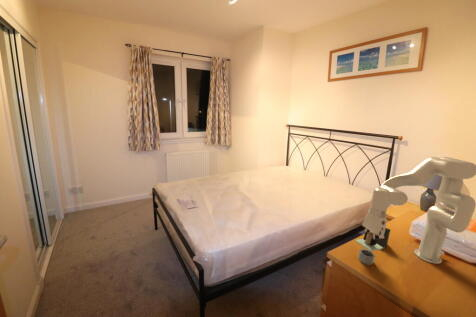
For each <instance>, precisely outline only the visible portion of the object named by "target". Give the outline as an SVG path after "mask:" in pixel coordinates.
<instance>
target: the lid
mask: <svg viewBox="0 0 476 317" xmlns="http://www.w3.org/2000/svg"><path fill="white" fill-rule="evenodd" d="M372 238H373V232H371V231H370V232H367V236H366V240H364V238H360V239H355V240H354V241H355V242H356V243H357V244H359V245H360V246H362V247H363V248H364V249H366V250H369V251H371V252H373V251H379V250H383V247H381V246H380V245H378V244H376V245H370V243H371V239H372Z"/></svg>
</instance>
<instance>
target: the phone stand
mask: <svg viewBox="0 0 476 317" xmlns="http://www.w3.org/2000/svg"><path fill="white" fill-rule="evenodd" d="M390 232H391V229H389V228H387V227H386V228H385V233H384V238H380V239H377V243H376V244H378V245H380V246H381V247H383V249H382V250H385V249H386V248H387V246H388V245H389V244H388V243H389V238H390ZM379 236H380V234H379Z"/></svg>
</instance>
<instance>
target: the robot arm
mask: <svg viewBox="0 0 476 317" xmlns="http://www.w3.org/2000/svg"><path fill="white" fill-rule="evenodd" d="M436 176H440V177H441V182H440V185H439V188H438V191H437V195H436V198H435V199H436V202H437V203H438V204H440V205H442V206H440V205H432V206H430V207H429V208H428V209H427V212H426V223H425V227H424V230H423V232H422V236H421V239H420V243H419V246H418V248H415V249H414V251H413V252H414V255H415V256H416V257H417V258H420V259H421V260H423V261H425V262H427V263H430V264H435V265H440V264H442V262H443V260H442V258H441V257H440V256H444V255H445V251H443V247H444V243H445V241H446V237H447V235H448V230H449V231H452V232H454V233H463V232H465V231H466V230H467V229H468V227H469V224H470V222H471V220H472V218H473V215H474V212H475V211H476V210H475V209H476V200H475V198H473V197H472V196H470V195H468V194H465V193H463V192H462V189H463V186H464V180H469V179H472V178H474V177H475V176H476V164H475V163H473V162H471V161H467V160H462V159H458V158H452V157H447V156H441V157H435V156H431V157H428V158H425V159H424V160H423V161H421V162H420V163H419V164H418V165H416V166H415V167H414V168H412V169H411V170H410V171H409V172H407V173H403V174H399V175H395V176H393V177H390V178H388V179H387V180H385V181H384V182H383V183H382V184H380V185H379V187H375V189H373V192H372V197H371V201H370V205H369V209H368V210H367V213H366V214H365V217H364V219H363V222H362V223H361V226H362V228H363V233H364V235H363V239H364V240H366V236H367V232H372V233H373V238H372V239H371V243H370V245H376V243H377V239H380V238H384V233H385V228H387V216H388V213H387V211H388V207H389V205H392V206H393V205H394V206H403V205H405V204H407V202H408V199H409V198H408V195H407V194H406V193H405V192H404V191H402V190H399V189H397V188H400V187H422V186H424V185H425V184H426V183H428V182H429V181H430V180H431V179H433V178H434V177H436ZM443 206H445V207H443ZM453 210H454V211H453ZM447 229H448V230H447ZM379 234H380V236H379Z"/></svg>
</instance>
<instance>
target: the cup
mask: <svg viewBox="0 0 476 317" xmlns="http://www.w3.org/2000/svg"><path fill="white" fill-rule="evenodd" d="M375 257H376V255H375V253H374V252H373V251H369V250H368V249H366V248H361V249H359V251H358V254H357V259H359V260H360V261H359V260H358V261H359V262H360V263H362V264H364V265H368V266H370V265H373V264H374V261H375Z"/></svg>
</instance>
